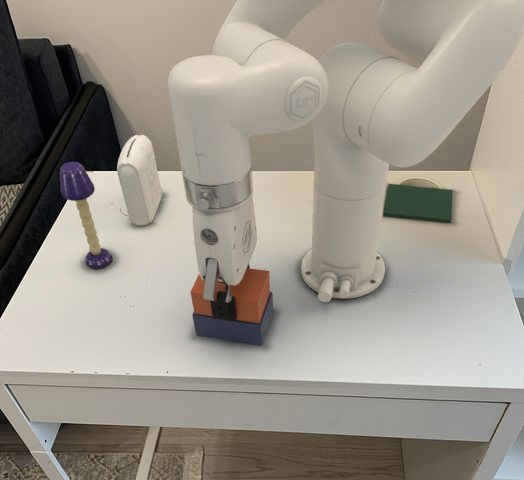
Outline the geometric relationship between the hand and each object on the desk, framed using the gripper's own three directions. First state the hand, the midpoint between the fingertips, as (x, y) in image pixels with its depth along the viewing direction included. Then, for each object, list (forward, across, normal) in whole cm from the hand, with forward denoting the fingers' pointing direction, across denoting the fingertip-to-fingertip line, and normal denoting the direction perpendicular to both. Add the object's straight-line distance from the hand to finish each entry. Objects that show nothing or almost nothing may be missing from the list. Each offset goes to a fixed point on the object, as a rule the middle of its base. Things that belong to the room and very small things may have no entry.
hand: (232, 300), depth 73 cm
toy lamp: (+5, +9, +25) cm, 27 cm away
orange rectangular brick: (+1, 0, 0) cm, 1 cm away
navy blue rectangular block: (+5, 0, 0) cm, 5 cm away
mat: (+5, +34, -23) cm, 41 cm away
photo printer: (+5, +24, +23) cm, 34 cm away
